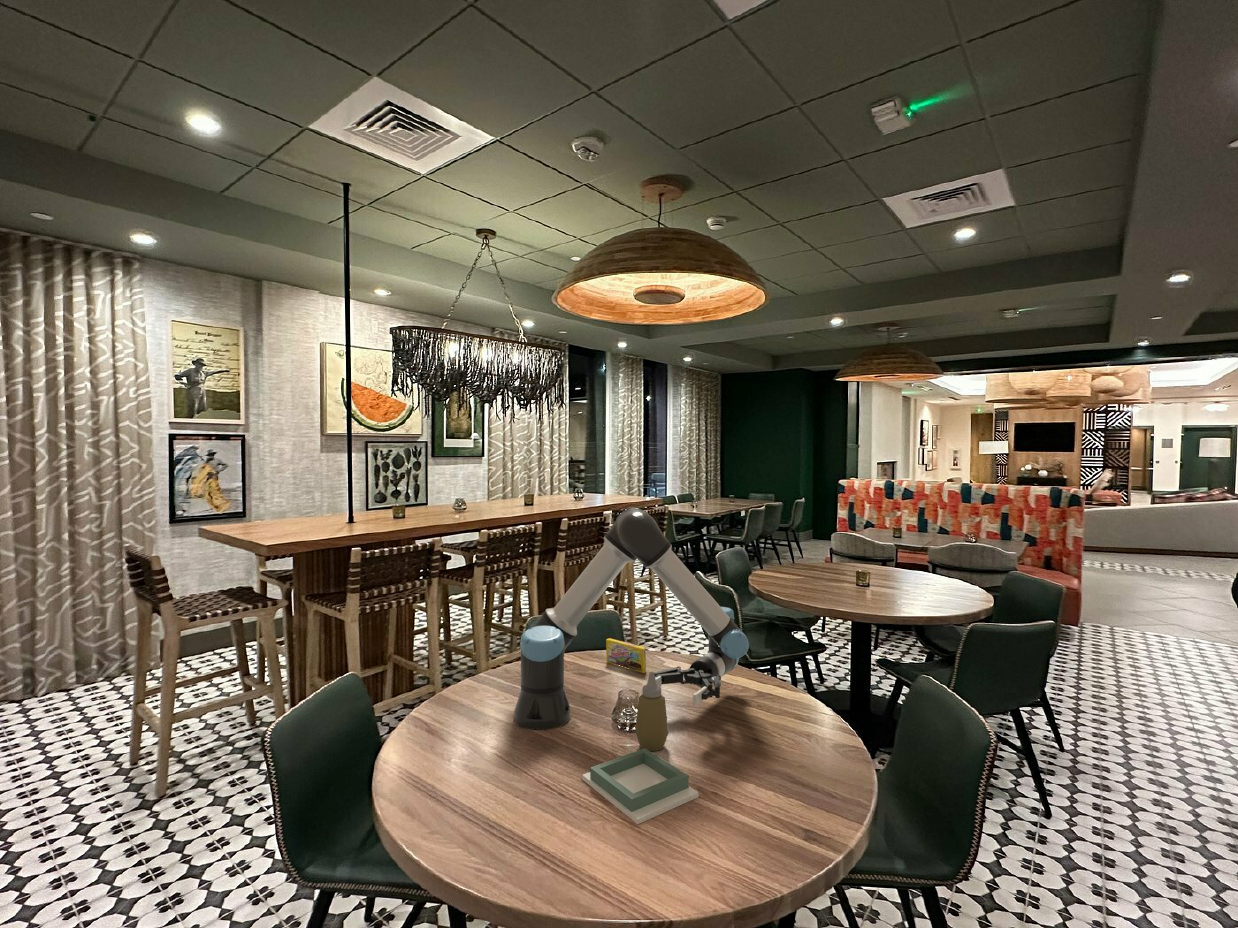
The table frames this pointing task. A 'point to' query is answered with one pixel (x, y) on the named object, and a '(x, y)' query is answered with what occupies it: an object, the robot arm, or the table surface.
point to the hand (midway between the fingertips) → (670, 694)
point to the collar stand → (641, 784)
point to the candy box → (626, 655)
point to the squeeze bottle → (651, 717)
